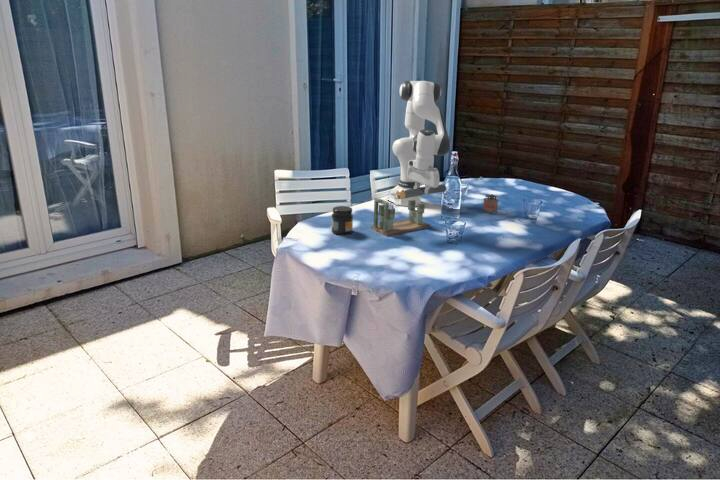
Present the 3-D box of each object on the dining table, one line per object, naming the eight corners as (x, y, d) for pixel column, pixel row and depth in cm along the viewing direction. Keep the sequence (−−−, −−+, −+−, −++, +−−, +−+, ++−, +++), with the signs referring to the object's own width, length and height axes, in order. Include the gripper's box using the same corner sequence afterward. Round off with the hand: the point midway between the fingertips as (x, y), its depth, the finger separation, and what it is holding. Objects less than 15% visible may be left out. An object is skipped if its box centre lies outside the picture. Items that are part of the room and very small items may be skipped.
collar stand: (370, 229, 278) (372, 197, 272) (413, 220, 293) (415, 190, 287) (386, 236, 267) (388, 203, 262) (430, 227, 283) (432, 196, 277)
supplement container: (357, 232, 272) (357, 208, 268) (342, 236, 265) (342, 213, 261) (342, 227, 279) (342, 204, 275) (327, 231, 272) (327, 208, 268)
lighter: (496, 211, 314) (498, 194, 311) (497, 212, 311) (499, 195, 308) (482, 210, 315) (484, 193, 311) (482, 212, 312) (484, 195, 308)
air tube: (401, 200, 261) (402, 191, 259) (396, 197, 264) (396, 189, 263) (445, 193, 276) (446, 184, 275) (439, 191, 279) (440, 182, 278)
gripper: (443, 168, 259) (441, 196, 263) (415, 159, 274) (413, 186, 279) (433, 169, 255) (431, 198, 260) (405, 160, 271) (403, 187, 276)
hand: (421, 192), depth 270 cm, fingers closed on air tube, 4 cm apart
